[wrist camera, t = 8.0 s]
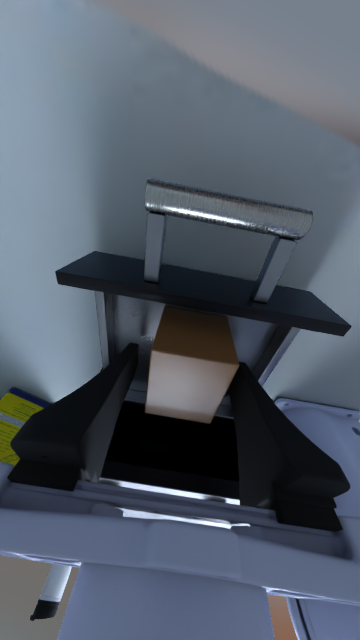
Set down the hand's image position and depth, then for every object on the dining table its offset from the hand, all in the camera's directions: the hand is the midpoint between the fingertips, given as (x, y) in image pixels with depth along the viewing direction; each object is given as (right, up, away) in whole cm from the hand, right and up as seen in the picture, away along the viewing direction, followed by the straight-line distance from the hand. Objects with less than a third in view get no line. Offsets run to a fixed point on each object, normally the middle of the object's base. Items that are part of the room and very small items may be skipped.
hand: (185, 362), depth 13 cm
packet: (0, +1, +1) cm, 2 cm away
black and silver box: (-2, -9, +10) cm, 14 cm away
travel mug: (-39, -73, +56) cm, 100 cm away
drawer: (0, +3, +2) cm, 3 cm away
